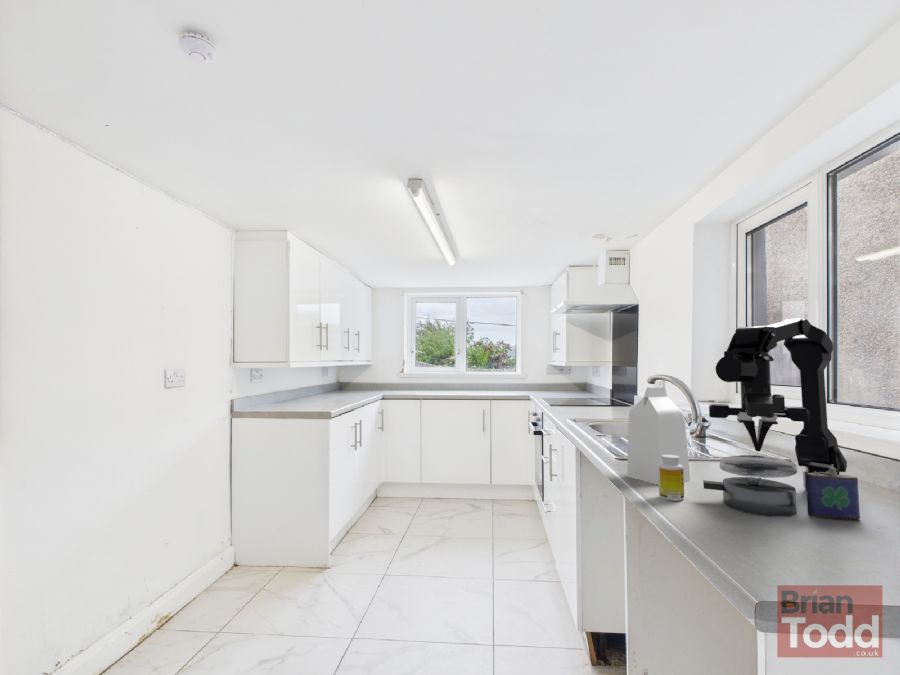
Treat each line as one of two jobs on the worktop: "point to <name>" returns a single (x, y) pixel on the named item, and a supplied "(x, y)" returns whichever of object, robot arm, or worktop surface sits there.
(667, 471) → the supplement bottle
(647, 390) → the milk
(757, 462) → the cooker lid
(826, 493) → the flask
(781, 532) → the worktop surface
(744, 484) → the cooker pot
